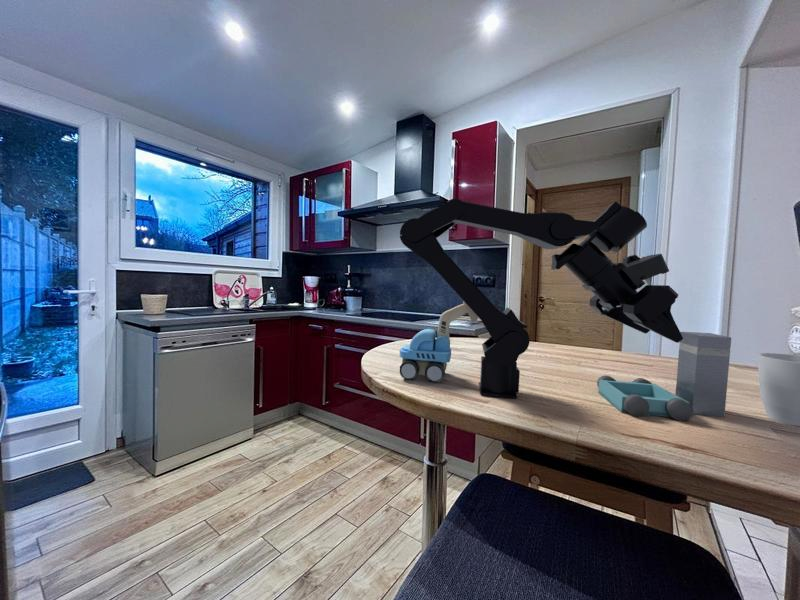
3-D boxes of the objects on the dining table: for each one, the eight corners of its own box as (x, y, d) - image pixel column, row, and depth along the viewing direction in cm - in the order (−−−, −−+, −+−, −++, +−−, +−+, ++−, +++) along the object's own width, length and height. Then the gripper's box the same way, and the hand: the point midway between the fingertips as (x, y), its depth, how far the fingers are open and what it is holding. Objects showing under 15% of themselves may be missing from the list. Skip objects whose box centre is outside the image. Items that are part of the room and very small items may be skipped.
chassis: (625, 415, 51) (626, 395, 51) (595, 390, 63) (596, 374, 63) (693, 422, 50) (695, 401, 49) (650, 395, 61) (651, 378, 61)
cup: (851, 436, 46) (859, 368, 45) (776, 426, 49) (783, 362, 48) (802, 414, 54) (809, 355, 53) (740, 407, 56) (745, 351, 56)
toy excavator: (476, 387, 64) (480, 301, 63) (395, 380, 67) (396, 298, 66) (476, 375, 72) (479, 299, 71) (403, 369, 76) (405, 296, 74)
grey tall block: (692, 413, 53) (698, 335, 52) (674, 403, 57) (680, 331, 56) (724, 416, 52) (731, 337, 51) (704, 406, 56) (710, 333, 56)
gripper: (667, 229, 46) (752, 308, 44) (610, 244, 64) (669, 300, 63) (603, 282, 48) (682, 360, 47) (565, 282, 66) (622, 338, 65)
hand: (662, 335), depth 55 cm, fingers open, 9 cm apart
